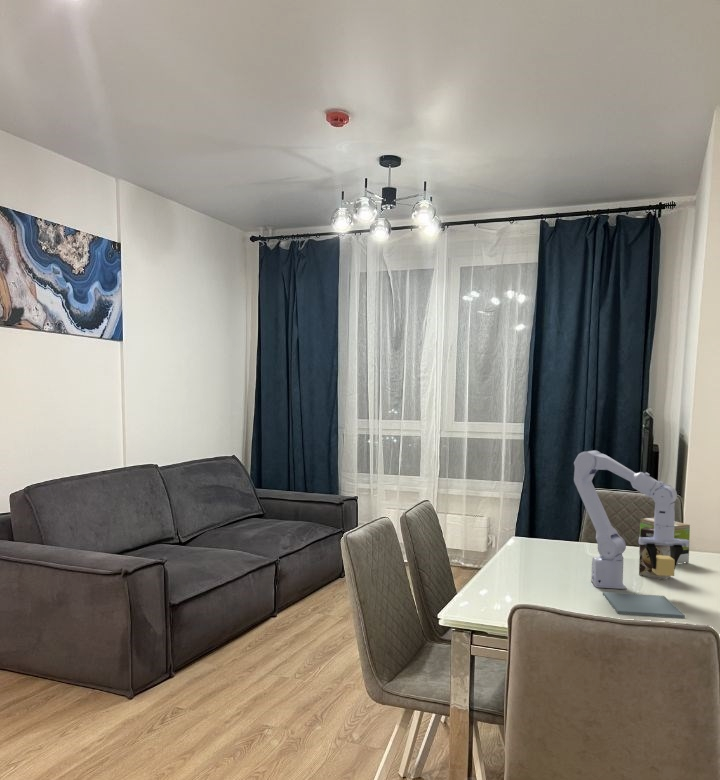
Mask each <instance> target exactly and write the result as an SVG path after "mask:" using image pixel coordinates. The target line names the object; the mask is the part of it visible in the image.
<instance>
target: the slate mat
mask: <svg viewBox="0 0 720 780" xmlns="http://www.w3.org/2000/svg"><path fill="white" fill-rule="evenodd" d="M602 596H603V597H604V596H605V597H604V598H605V599H606V601H607V600H608V601H607V602H608V603H609V604H610V606H611V605H612V606H611V607H612V608H613V609H615V610H614V611H615V612H616V613H617V615H618V614H619V615H633V616H646V617H647V616H649V617H662V618H664V617H665V618H675V619H679V618H680V619H685V618H686V616H685V614H684V612H682V611H681V610H680V609H679V608H678V607H677V606H675V604H673V603H672V602H671V601H670V600H669V599H668V598H667V597H666V596H665V595H660V594H659V595H658V594H657V595H656V594H643V593H641V594H640V593H626V592H625V593H624V592H612V591H611V592H610V591H609V592H608V591H603V592H602Z"/></svg>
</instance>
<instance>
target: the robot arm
mask: <svg viewBox="0 0 720 780" xmlns="http://www.w3.org/2000/svg"><path fill="white" fill-rule="evenodd" d="M573 466H574V472H573V483H574V485H575V487H576V490H577V492H578V494H579V496H580V499H581V501H582V502H583V505H584V507H585V509H586V512H587V515H588V517H589V518H590V520H591V523H592V525H593V528H594V529H595V532H596V533H595V541H596V543H597V552H598V554H599V556H593V557H592V561H591V579H590V581H591V582H592V584H593V585H594V587H596V588H601V589H602V588H603V589H621V590H627V588H628V587H627V586H626V585H625V584H624V556H623V553H625V550H626V548H627V544H626V541H625V539H624V538H623V537H622V536H621V535H620V534H619V533H618V530H617V529H616V528H614V526H612V523H611V521H610V519H609V517H608V515H607V512H606V510H605V508H604V505H603V504H602V502H601V501H602V500H600V497H599V495H598V492H597V489H596V488H595V486H594V484H593V479H594V477H595V475H596V473H597V472H598V471H600V470H601V471H602V470H603V471H609V472H611V473H612V474H615V475H617V476H618V477H621V478H622V479H624V480H626V481H628V482H630V485H631V487H632V488H633V489H634V490H636V491H638V492H640V493H641V494H643V495H645V496H646V497H648V498H650V499H651V498H652V501H653V502H654V515H653V518H654V537H640V536H639V537H638V544H640V545H645V548H646V550H647V552H648V555H649V558H650V561H651V567H652V568H653V569H656V555H657V548H656V546H655V545H667V546H670V556H671V558H673V559H674V560H675V567H674V571H675V570H676V566H677V565H678V564H677V561H678V559H679V557H680V555H681V553H682V552H683V548H682V546H685V547H689V548H690V539H689V540H686V539H675V538H674V521H675V518H676V517H675V515H676V512H675V504H676V503H675V502H676V500H677V498H678V492H677V490H676V489H675V488H674V487H673V486H672V485H670V484H664V483H665V482H664V481H661V480H660V481H659V480H657V479H655V478H654V477H652V476H650V475H651V474H650V473H648V472H647V471H646V472H643V471H639V472H635V471H633V470H632V469H630V468H628V467H626V466H625V465H624V464H622V463H621V462H618V461H617V460H615V459H613V458H612V457H610V456H608V455H607V454H604V453H601V452H600V451H598V450H595V449H594V450H588V451H582V452H579V453H578V454H577V456H576V458H575V459H574V462H573Z"/></svg>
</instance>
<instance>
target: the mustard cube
mask: <svg viewBox="0 0 720 780" xmlns="http://www.w3.org/2000/svg"><path fill="white" fill-rule="evenodd" d="M674 567H675V560H674V559H673V558H671V557H670V556H663V555H656V569H653V568H652V571H653V572H654V573H655V574H656V575H663V576H671V577H675V570H674ZM675 568H676V567H675Z"/></svg>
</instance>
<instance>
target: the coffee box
mask: <svg viewBox="0 0 720 780" xmlns="http://www.w3.org/2000/svg"><path fill="white" fill-rule="evenodd" d="M639 537H654V528H651V527H643V528H641V531H640V530H639ZM655 546H656V548H657V555H663V556H670V546H667V545H655ZM670 557H671V556H670ZM638 562H639V564H638V565H639V566H638V576H642V575H643V577H647V576H648V578H651V579H652V578H653V579H659V580H664V581H667V580H668V579H670V578H671V577H672V576H663V575H656V574H655V573H654V572H653V571H652V567H651V561H650V558H649V555H648V552H647V550H646V548H645V545H640V555H639V561H638Z"/></svg>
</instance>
